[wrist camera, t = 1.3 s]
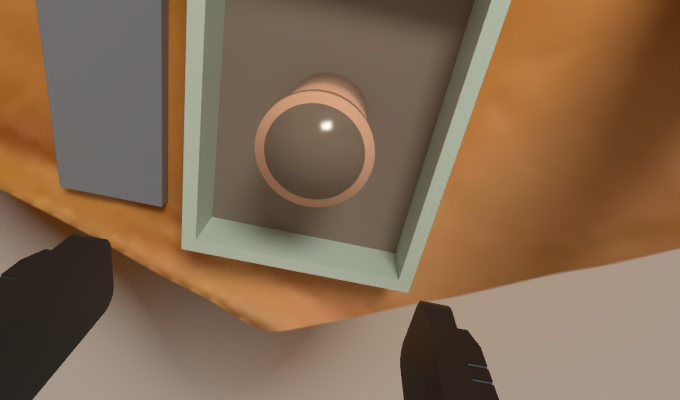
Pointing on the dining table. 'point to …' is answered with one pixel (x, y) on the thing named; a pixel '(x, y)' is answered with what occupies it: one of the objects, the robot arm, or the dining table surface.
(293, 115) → the clay pot
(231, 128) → the pale green tray
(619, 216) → the dining table surface
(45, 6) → the slate tile
